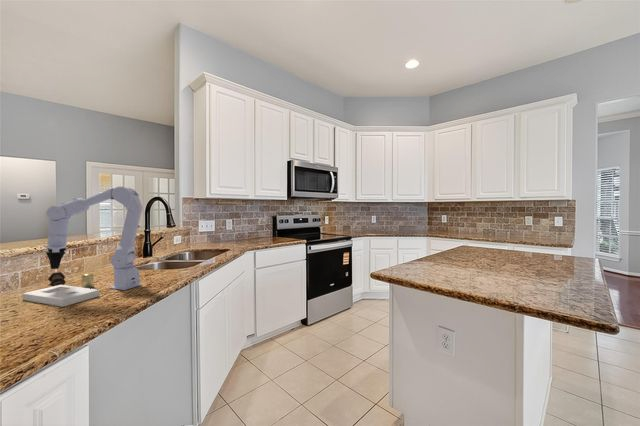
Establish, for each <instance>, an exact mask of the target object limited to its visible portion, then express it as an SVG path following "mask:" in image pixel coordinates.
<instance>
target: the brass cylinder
mask: <svg viewBox="0 0 640 426" xmlns="http://www.w3.org/2000/svg"><path fill="white" fill-rule="evenodd" d="M94 282H95V278H94V273H91V272H90V273H83V274H81V287H82V288H91V289H94V288H95V283H94ZM93 287H94V288H93Z"/></svg>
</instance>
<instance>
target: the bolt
mask: <svg viewBox="0 0 640 426" xmlns="http://www.w3.org/2000/svg"><path fill="white" fill-rule="evenodd" d="M65 279H66V276H65V274H64V273H63V272H61V271H57V272H52V273H51V274H50V276H49V277H48V281H49V282H50V283H49V285H50V287H53V286H58V285H65V283H66V280H65Z"/></svg>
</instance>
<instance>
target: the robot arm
mask: <svg viewBox="0 0 640 426" xmlns="http://www.w3.org/2000/svg"><path fill="white" fill-rule="evenodd" d="M139 196H140V195H139V193H138V192H137V191H136V190H135V189H133V188H131V187H124V186H116V187H113V188H108V189H106V190H105V191H102V192H99V193H97V194H95V195H93V196H89V197H87V198H85V199H84V198H81V197H79V198H78V197H74V198H72V200H71V201H68V202H62V203H60V205H52V206H50V207H49V208H47V210H46V218H48V219H49V220H48V231H47V232H48V233H47V244H44V245H43V246H42V248H48V249H47V251H46V252H45V253H46V256H47V258H48V261H49V265H50V266H49V267H50V269H51V270H57V269H59V268H60V265H61V261H62V259H63V257H64V255H65V254H66V250H67V247H68V245H67V241H68V240H67V239H68V227H69V220H70V219H71V217H73V216H76V215H78V214H81V213H83V212H86V211H88V210H89V208H90V207H91V206H94V205H97V204H100V203H103V202H106V201H110V200H112V201H113V200H115V202H118V203H120V204H122V205H123V207H124V208H125V209H126V215H125V220H124V223H123V228H122V231H121V236H120V240H119V245H117V247H116V249H115V250H114V254H113V255H112V256H111V258H110V263H111V266H113V282H114V283H113V285H112V286H109V287H108V288H109V289H114V290H123V291H125V290H128V289H129V290H130V289H133V288H136V287H139V286H142V283H140V280H141V279H140V270H139V269H138V268H137V267H135V263H134V262H135V260H136V258H137V257H136V256H137V255H136V253H135V251H136V248H135V240H136V237H137V233H138V227H139V224H140V220H141V215H142V212H143V205H142V203H141V200H140V197H139Z"/></svg>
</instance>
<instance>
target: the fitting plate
mask: <svg viewBox="0 0 640 426" xmlns="http://www.w3.org/2000/svg"><path fill="white" fill-rule="evenodd" d="M100 292H101V291H100V289H96V288H91V289H90V288H82V286H75V285H66V284H64V285H58V286H53V287H52V286H50V287H45V288H41V289H36V290H32V291H28V292H23V293H22V300H23V301H26V302H33V303H38V304H39V303H40V304H44V305H51V306H56V307H67V306H70V305H74V304H77V303H80V302H84V301H88V300H91V299H94V298H97V297H100V294H101V293H100Z"/></svg>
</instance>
